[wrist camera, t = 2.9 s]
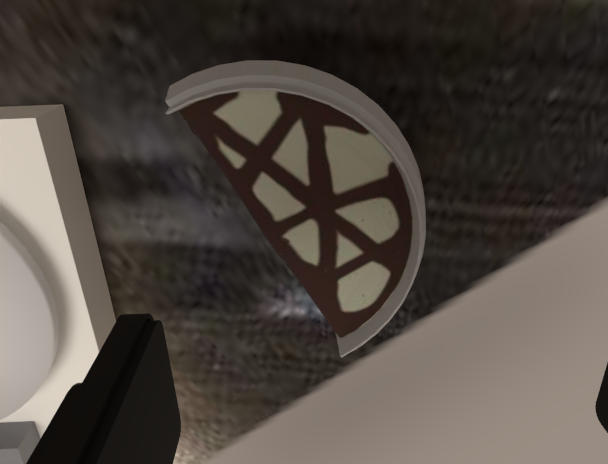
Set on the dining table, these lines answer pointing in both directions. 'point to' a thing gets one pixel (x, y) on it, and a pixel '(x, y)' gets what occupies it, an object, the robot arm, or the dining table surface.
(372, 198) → the food container
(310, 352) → the dining table surface
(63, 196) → the dial scale
